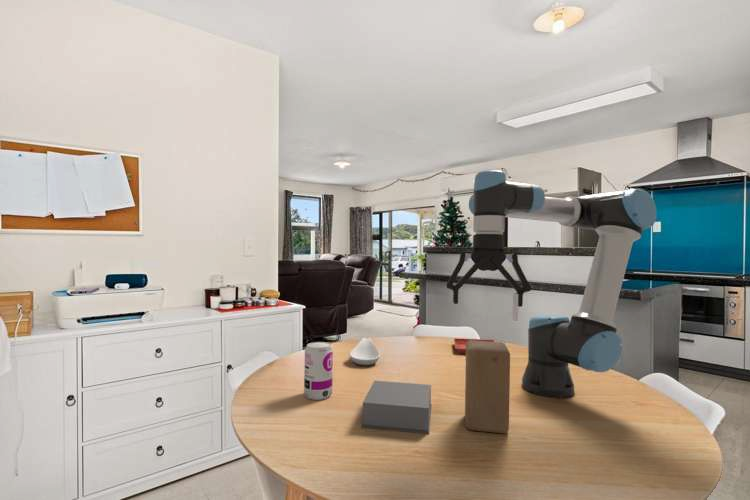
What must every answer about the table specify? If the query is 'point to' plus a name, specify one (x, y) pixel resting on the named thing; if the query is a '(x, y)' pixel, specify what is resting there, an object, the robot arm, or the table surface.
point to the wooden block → (487, 386)
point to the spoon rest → (365, 352)
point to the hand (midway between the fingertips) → (486, 318)
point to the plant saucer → (464, 344)
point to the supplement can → (318, 370)
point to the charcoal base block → (398, 407)
